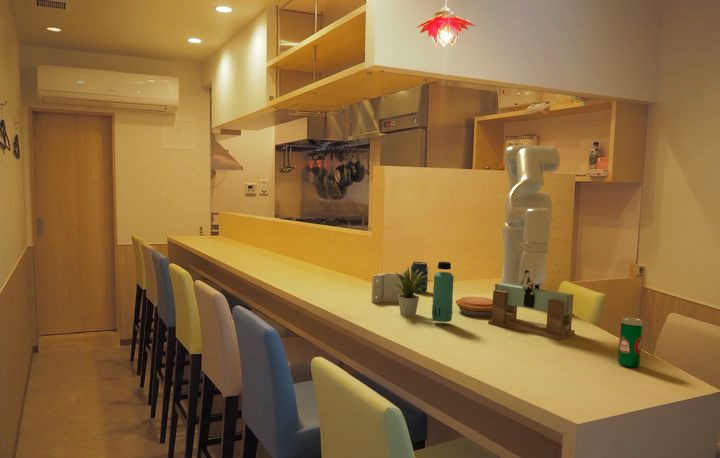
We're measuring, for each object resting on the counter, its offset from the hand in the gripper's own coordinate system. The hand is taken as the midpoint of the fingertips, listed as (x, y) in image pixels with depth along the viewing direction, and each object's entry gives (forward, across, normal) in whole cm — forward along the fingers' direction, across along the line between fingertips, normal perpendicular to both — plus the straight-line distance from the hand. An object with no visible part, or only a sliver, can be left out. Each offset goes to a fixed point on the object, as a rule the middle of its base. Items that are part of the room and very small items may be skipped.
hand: (531, 305), depth 173 cm
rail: (+1, 0, 0) cm, 1 cm away
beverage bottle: (+8, +17, -22) cm, 29 cm away
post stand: (+7, 0, 0) cm, 7 cm away
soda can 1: (+8, -20, -57) cm, 61 cm away
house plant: (+8, +16, -36) cm, 40 cm away
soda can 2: (+8, +15, +33) cm, 37 cm away
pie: (+8, -6, -22) cm, 24 cm away
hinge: (+8, +4, -54) cm, 55 cm away
